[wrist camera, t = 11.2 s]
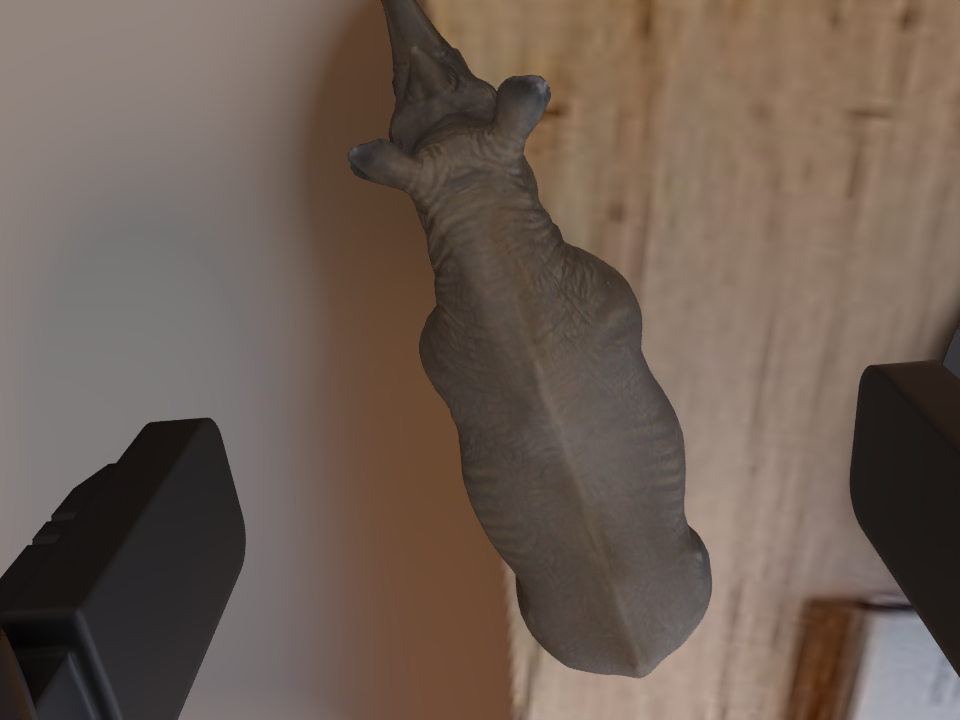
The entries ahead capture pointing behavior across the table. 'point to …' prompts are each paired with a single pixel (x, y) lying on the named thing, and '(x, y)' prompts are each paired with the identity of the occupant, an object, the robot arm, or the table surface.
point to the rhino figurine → (540, 372)
